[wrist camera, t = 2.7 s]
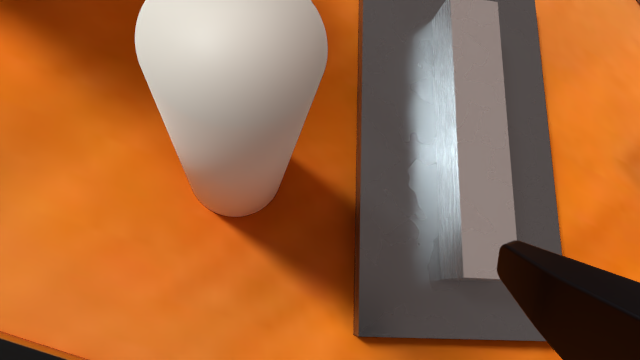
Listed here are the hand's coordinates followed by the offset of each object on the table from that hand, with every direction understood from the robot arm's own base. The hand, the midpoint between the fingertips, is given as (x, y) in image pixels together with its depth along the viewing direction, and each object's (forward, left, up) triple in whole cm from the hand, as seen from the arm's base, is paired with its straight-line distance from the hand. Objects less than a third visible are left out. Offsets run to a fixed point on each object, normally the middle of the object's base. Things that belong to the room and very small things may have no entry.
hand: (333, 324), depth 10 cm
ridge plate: (-4, -13, -13) cm, 19 cm away
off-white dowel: (+6, -5, -14) cm, 15 cm away
